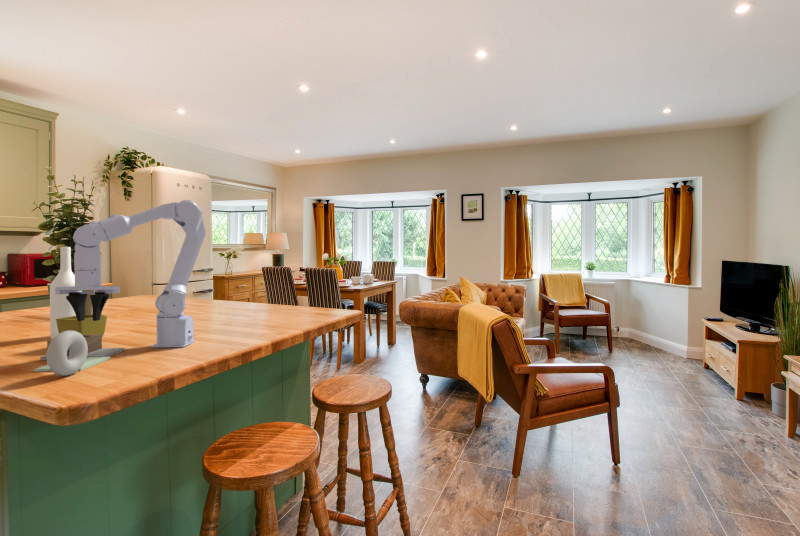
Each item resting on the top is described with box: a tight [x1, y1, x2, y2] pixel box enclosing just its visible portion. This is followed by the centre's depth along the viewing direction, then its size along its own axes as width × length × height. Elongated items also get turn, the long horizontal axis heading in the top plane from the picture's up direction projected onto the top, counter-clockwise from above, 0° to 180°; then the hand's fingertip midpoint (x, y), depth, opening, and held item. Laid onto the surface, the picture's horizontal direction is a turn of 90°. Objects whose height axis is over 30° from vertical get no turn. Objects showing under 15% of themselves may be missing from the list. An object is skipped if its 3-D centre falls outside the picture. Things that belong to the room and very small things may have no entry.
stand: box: [39, 347, 125, 361], centre depth 108 cm, size 15×10×4 cm, turn 95°
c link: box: [46, 335, 103, 356], centre depth 108 cm, size 8×9×4 cm
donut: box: [46, 331, 88, 377], centre depth 90 cm, size 10×4×10 cm, turn 5°
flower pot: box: [56, 313, 108, 338], centre depth 119 cm, size 9×9×9 cm
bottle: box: [49, 246, 83, 340], centre depth 132 cm, size 8×8×30 cm
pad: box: [33, 356, 111, 373], centre depth 98 cm, size 10×11×1 cm
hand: (88, 320), depth 108 cm, fingers open, 3 cm apart
